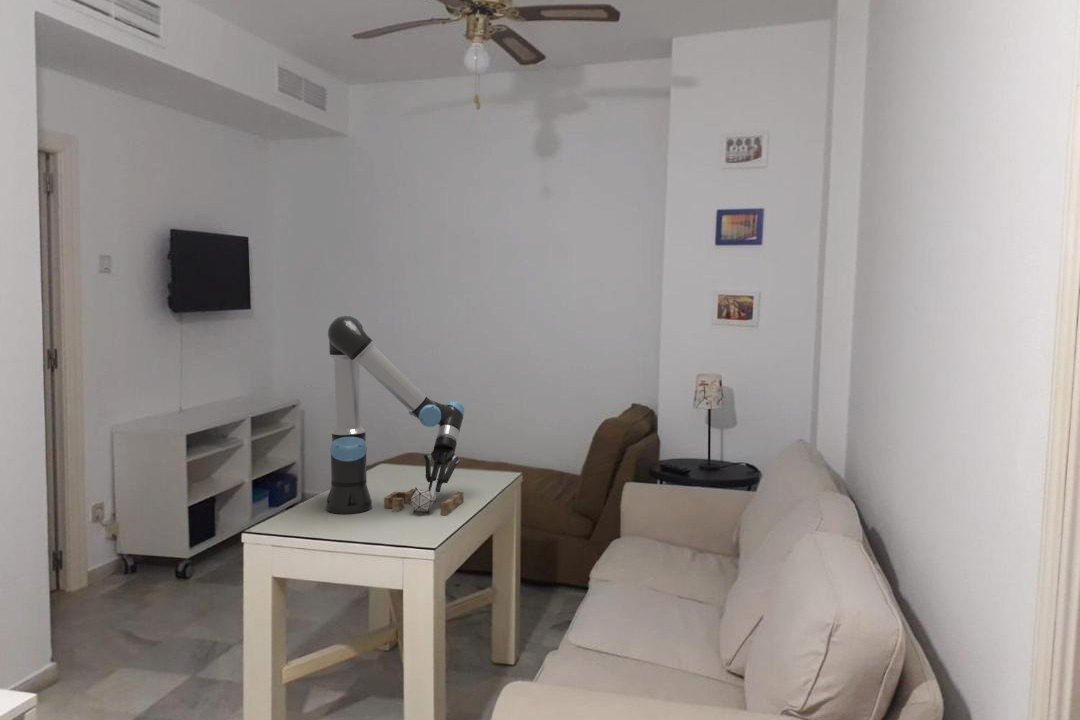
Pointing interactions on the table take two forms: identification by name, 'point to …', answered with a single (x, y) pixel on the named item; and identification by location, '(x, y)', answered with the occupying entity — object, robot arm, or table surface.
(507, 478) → the table surface
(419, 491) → the game die
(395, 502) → the wooden blocks
